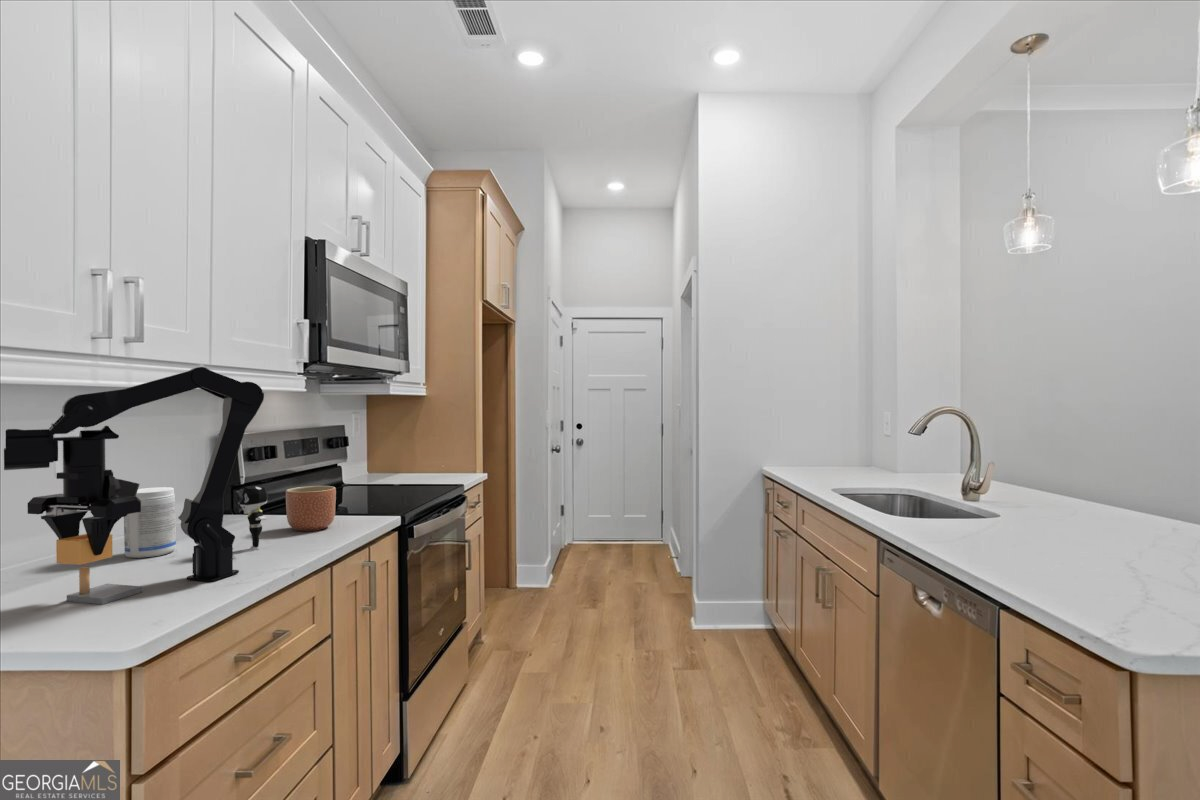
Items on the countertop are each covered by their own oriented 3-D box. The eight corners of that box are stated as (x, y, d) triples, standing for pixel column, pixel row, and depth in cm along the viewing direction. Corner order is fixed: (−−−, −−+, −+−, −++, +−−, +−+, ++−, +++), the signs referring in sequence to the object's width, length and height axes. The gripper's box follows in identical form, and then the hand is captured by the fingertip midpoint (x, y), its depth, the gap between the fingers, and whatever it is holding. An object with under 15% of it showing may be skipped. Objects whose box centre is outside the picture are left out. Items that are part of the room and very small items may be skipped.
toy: (233, 546, 147) (232, 483, 147) (261, 542, 151) (261, 481, 151) (246, 556, 137) (246, 489, 137) (276, 552, 141) (276, 486, 141)
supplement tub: (185, 548, 145) (184, 486, 145) (158, 558, 136) (158, 492, 136) (142, 549, 144) (142, 487, 145) (112, 559, 135) (112, 492, 135)
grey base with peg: (141, 591, 112) (141, 561, 112) (102, 604, 105) (102, 572, 105) (107, 588, 114) (107, 559, 114) (66, 600, 107) (66, 569, 107)
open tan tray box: (112, 556, 110) (112, 534, 110) (80, 564, 105) (80, 541, 104) (89, 555, 111) (89, 533, 111) (56, 562, 106) (56, 539, 106)
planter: (332, 522, 176) (332, 484, 176) (339, 530, 165) (339, 489, 165) (283, 527, 169) (283, 487, 169) (288, 535, 159) (287, 493, 159)
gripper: (169, 461, 113) (169, 546, 113) (91, 460, 118) (92, 541, 118) (108, 468, 103) (108, 561, 103) (24, 466, 107) (25, 555, 107)
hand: (85, 554), depth 108 cm, fingers closed on open tan tray box, 5 cm apart
